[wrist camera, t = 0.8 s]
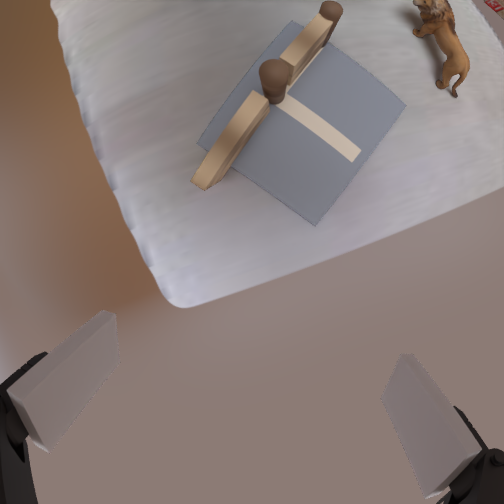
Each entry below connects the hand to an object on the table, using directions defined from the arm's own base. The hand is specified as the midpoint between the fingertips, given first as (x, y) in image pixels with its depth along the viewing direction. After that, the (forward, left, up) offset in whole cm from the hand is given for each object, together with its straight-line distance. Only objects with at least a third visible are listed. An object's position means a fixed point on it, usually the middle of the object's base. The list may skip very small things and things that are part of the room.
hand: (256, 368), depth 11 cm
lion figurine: (-34, +3, -25) cm, 42 cm away
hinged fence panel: (-6, -8, -24) cm, 26 cm away
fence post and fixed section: (-17, -8, -25) cm, 31 cm away
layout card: (-13, -4, -25) cm, 28 cm away
